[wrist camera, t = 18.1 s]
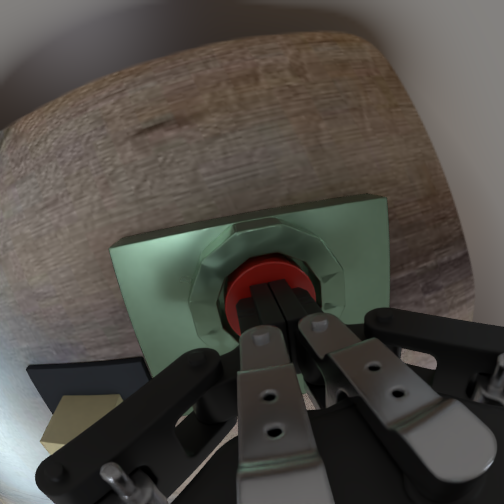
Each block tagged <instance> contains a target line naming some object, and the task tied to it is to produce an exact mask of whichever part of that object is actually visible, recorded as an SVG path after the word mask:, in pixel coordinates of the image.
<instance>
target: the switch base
mask: <svg viewBox="0 0 504 504" xmlns="http://www.w3.org/2000/svg"><path fill="white" fill-rule="evenodd" d="M109 252H110V256H111V260H112V263H113V267H114V270H115V274H116V277H117V280H118V284H119V287H120V290H121V293H122V296H123V299H124V302H125V305H126V308H127V311H128V314H129V317H130V320H131V323H132V326H133V328H134V331H135V334H136V337H137V339H138V342H139V344H140V347H141V350H142V352H143V355H144V357H145V360H146V362H147V365H148V367H149V369H150V372H151V374H152V377H153V378H154V377H155V376H156V375H157V374H159V373H160V372H161V371H162V370H164V369H165V368H166V367H167V366H169V365H170V364H171V363H172V362H174V361H175V360H176V359H177V358H179V357H180V356H181V355H182V354H184V353H186V352H187V351H190V350H193V349H197V348H211V349H214V350H216V351H217V352H218V353H219V355H223V354H226V353H228V352H230V351H232V350H233V349H235V348H236V347H237V346H238V345H239V344H240V343H239V339H240V336H239V335H238V334H236V333H235V331H234V330H233V329H232V328H231V326H230V325H229V323H228V320H227V317H226V314H225V305H224V284H225V280H226V278H227V276H228V275H229V274H231V273H232V272H233V271H234V270H235V269H237V268H238V267H239V266H240V265H241V264H243V263H244V262H245V261H246V260H248V259H249V258H252V257H257V256H262V255H267V254H272V253H280V254H283V255H286V256H288V257H290V258H291V259H292V260H294V261H295V262H296V263H297V264H298V265H299V266H300V268H301V269H302V270H303V271H304V272H305V273H306V274H307V276H308V277H309V278H310V280H311V282H312V284H313V286H314V289H315V293H316V303H317V304H318V305H319V307H320V308H321V309H322V311H323V312H324V313H330V314H333V315H335V316H337V317H338V318H339V319H340V320H341V321H342V322H343V323H344V324H361V323H364V316H365V314H366V313H367V312H369V311H370V310H373V309H376V308H381V307H389V302H390V245H389V221H388V206H387V197H383V196H378V195H373V194H368V193H366V194H359V195H352V196H346V197H339V198H332V199H326V200H319V201H313V202H307V203H301V204H294V205H288V206H283V207H277V208H271V209H265V210H259V211H254V212H248V213H243V214H237V215H232V216H227V217H221V218H216V219H211V220H206V221H201V222H196V223H191V224H186V225H181V226H176V227H171V228H166V229H161V230H157V231H152V232H147V233H143V234H138V235H133V236H129V237H124V238H121V239H120V240H119V241H117V242H116V243H115V244H113V245H112V246H111V247H110V248H109ZM297 378H298V381H299V385H300V388H301V392H302V394H305V393H306V391H305V389H304V382H303V375H302V373H301V374H297ZM193 410H194V409H193V407H191V408H190V409H189V410H188V411H187V412H186V413H184V414H183V415H182V416H185V415H189V414H190V413H191V412H192V411H193Z"/></svg>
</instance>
